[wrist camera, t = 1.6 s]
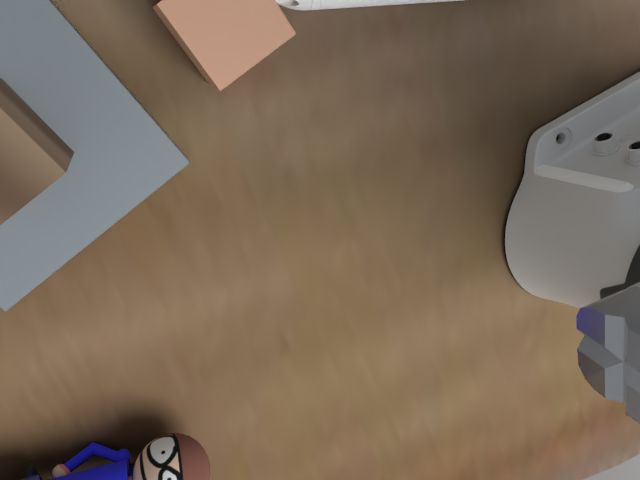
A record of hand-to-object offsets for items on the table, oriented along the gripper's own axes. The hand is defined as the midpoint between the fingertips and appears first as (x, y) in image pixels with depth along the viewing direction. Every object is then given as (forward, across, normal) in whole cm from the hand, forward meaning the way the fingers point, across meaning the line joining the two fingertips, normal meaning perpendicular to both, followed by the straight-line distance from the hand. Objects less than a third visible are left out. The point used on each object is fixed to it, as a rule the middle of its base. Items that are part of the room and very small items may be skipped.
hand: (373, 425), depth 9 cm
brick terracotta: (+28, -4, -6) cm, 29 cm away
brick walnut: (+27, +10, -2) cm, 29 cm away
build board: (+28, +10, -2) cm, 30 cm away
